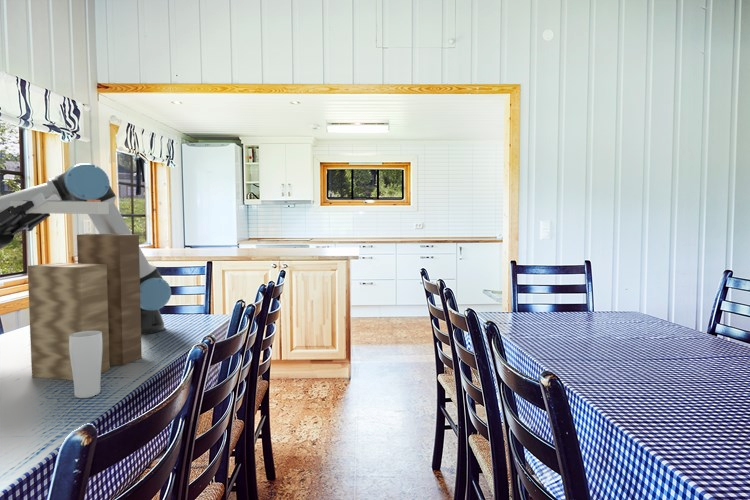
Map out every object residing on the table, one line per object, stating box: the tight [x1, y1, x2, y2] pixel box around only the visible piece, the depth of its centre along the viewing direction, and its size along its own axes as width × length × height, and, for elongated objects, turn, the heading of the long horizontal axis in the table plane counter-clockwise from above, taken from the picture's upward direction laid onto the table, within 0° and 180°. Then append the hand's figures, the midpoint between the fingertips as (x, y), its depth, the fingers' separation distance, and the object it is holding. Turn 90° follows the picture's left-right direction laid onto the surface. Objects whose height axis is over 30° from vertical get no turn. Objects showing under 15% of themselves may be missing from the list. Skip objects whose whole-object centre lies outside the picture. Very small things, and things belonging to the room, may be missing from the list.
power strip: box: [10, 200, 109, 215], centre depth 124 cm, size 28×4×4 cm, turn 80°
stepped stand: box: [27, 233, 143, 381], centre depth 129 cm, size 17×21×38 cm
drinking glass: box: [69, 331, 103, 399], centre depth 108 cm, size 7×7×15 cm
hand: (50, 197), depth 124 cm, fingers closed on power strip, 4 cm apart
